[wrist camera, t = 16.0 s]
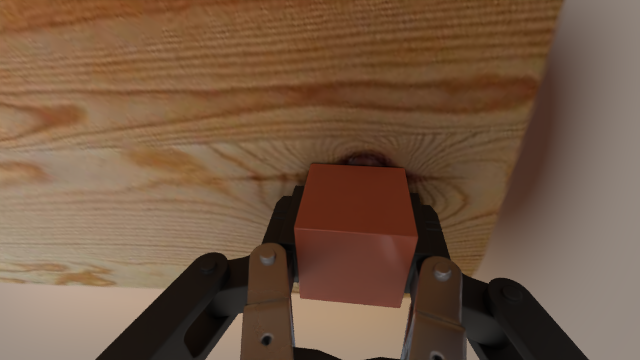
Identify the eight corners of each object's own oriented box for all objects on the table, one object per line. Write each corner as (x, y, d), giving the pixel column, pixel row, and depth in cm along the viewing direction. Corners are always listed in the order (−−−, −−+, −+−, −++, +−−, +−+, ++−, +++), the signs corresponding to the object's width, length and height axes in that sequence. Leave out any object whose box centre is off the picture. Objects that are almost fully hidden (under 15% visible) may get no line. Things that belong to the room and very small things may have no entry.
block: (404, 167, 13) (418, 237, 9) (392, 234, 15) (400, 308, 12) (310, 162, 13) (293, 228, 10) (313, 228, 15) (299, 299, 12)
